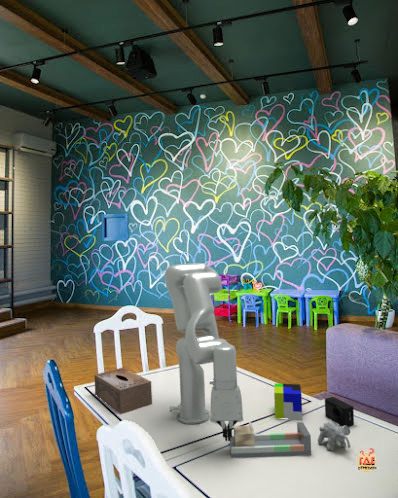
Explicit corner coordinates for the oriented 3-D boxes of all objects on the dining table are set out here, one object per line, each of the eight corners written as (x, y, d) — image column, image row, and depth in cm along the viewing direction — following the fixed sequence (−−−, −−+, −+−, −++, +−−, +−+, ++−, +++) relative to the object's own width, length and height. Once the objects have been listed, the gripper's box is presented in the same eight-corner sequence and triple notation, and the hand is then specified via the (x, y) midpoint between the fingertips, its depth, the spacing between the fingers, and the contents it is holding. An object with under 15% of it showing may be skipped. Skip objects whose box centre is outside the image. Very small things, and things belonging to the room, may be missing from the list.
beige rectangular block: (236, 452, 122) (235, 434, 122) (233, 438, 131) (233, 422, 131) (255, 451, 122) (254, 434, 122) (251, 438, 131) (251, 421, 131)
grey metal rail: (231, 457, 122) (231, 448, 122) (229, 442, 131) (229, 434, 131) (311, 454, 122) (310, 446, 122) (303, 440, 131) (303, 432, 131)
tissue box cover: (95, 396, 177) (94, 374, 177) (124, 388, 186) (123, 367, 186) (121, 414, 157) (120, 390, 156) (152, 404, 165) (151, 381, 165)
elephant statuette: (330, 437, 133) (328, 415, 133) (363, 449, 123) (361, 425, 124) (313, 447, 127) (311, 423, 127) (347, 460, 118) (345, 435, 118)
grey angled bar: (304, 451, 122) (304, 435, 122) (297, 437, 131) (297, 422, 131) (311, 451, 122) (310, 435, 122) (303, 436, 131) (303, 422, 131)
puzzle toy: (302, 420, 146) (301, 394, 145) (275, 419, 148) (274, 392, 147) (300, 409, 155) (300, 384, 155) (275, 408, 157) (274, 383, 157)
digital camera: (322, 417, 148) (321, 398, 148) (333, 414, 150) (333, 396, 150) (342, 428, 138) (341, 409, 138) (354, 425, 140) (353, 406, 140)
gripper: (202, 388, 122) (204, 445, 123) (249, 386, 122) (251, 444, 123) (202, 379, 130) (204, 434, 130) (247, 378, 130) (249, 432, 130)
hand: (227, 439), depth 126 cm, fingers closed
